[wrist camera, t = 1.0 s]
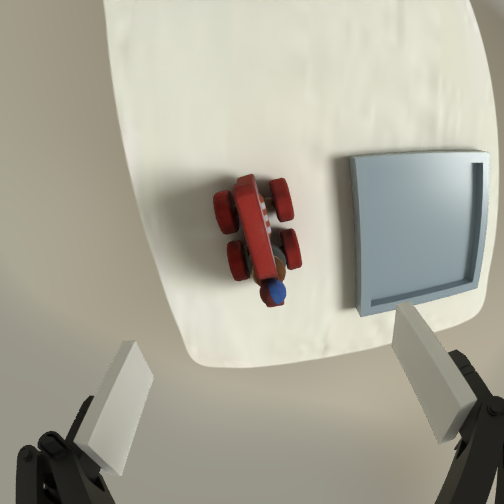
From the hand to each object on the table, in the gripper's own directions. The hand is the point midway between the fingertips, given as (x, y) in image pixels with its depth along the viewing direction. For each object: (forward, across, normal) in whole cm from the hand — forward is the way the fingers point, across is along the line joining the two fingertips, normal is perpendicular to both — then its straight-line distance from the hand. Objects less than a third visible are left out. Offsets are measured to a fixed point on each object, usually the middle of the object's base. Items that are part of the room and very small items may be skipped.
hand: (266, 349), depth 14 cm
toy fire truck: (+19, 0, 0) cm, 19 cm away
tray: (+18, +19, -3) cm, 27 cm away
